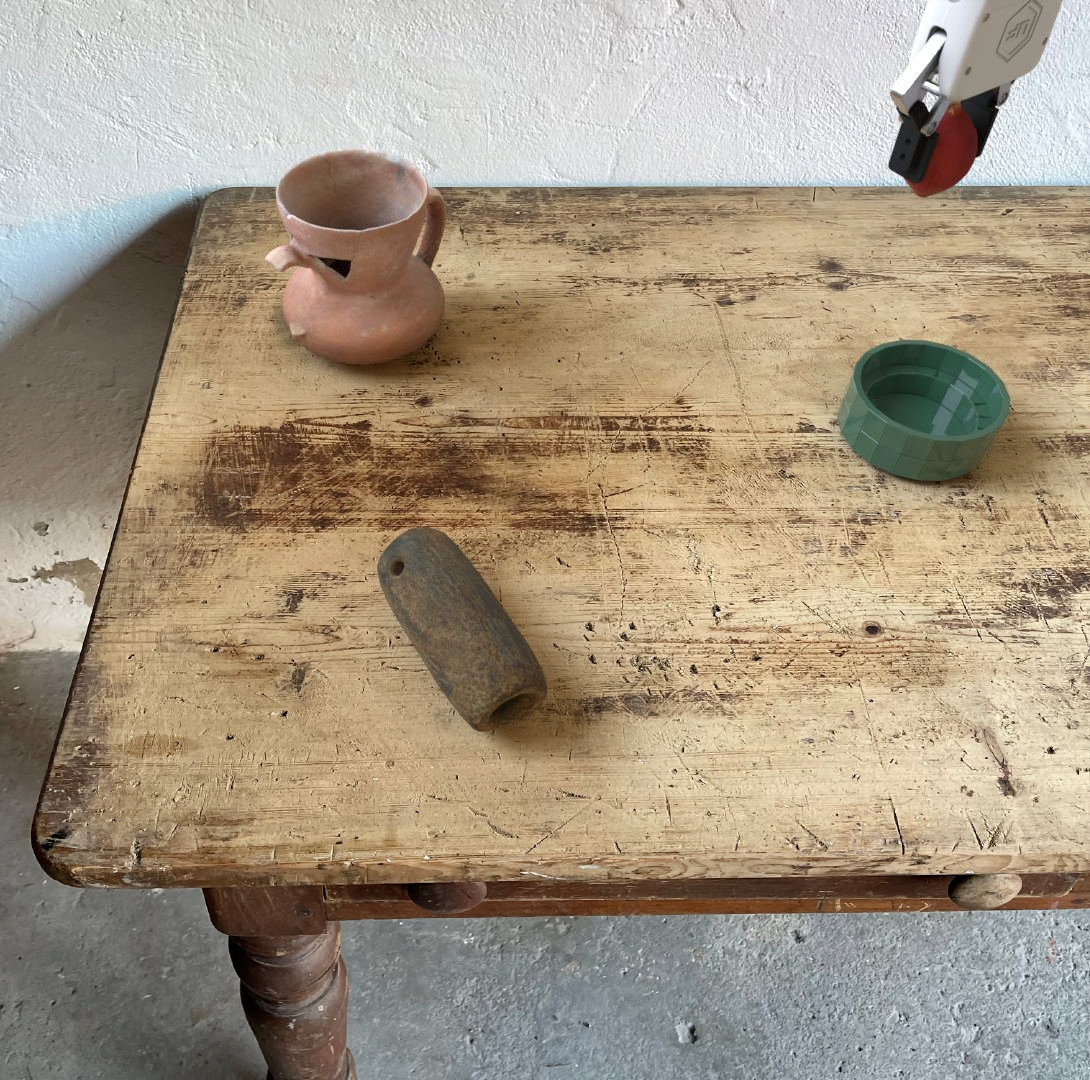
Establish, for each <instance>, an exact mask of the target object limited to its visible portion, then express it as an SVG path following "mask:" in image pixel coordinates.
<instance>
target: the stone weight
mask: <svg viewBox="0 0 1090 1080" xmlns="http://www.w3.org/2000/svg"><path fill="white" fill-rule="evenodd" d="M376 571H377V576H378V580H379V581H378V582H379V584H380V587H381V590H382V592H383V594H384V597H385V599H386V601H387V603H388V606H389V607H390V609H391V612H392V613H393V615H394V617H395V618H396V620H397V621H398V623H399V625H400V626H401V629H402V630H403V631H404V633H405V635H406V637H407V638H408V640H409V641H410V643H411V645H412V646H413V647H414V649H415V651H416V653H417V654H418V656H419V657H420V658H421V660H422V662H423V663H424V665H425V667H426V668H427V670H428V671H429V673H430V674H431V676H432V678H433V679H434V682H436V685H437V687H438V688H439V690H440V691H441V692H442V694H443V695H444V697H446V699H447V701H448V702H449V703H450V704H451V705H452V707H453V709H454V710H456V712H457V713H458V714H459V716H460V717H461V718H462V719H463V720H464V721H465V722H466V724H468V725H469V726H470V727H471V728H472V730H474V731H476V732H480V733H481V732H482V733H488V732H492V731H494V730H497V729H500V728H502V727H504V726H507V725H510V724H512V723H513V722H515V721H519V720H522V719H525V718H527V717H529V716H531V715H533V714H534V713H535V712H536V711H538V710H539V709H540V708H542V705H543V703H544V701H546V698H547V696H548V683H547V678H546V675H545V673H544V670H543V668H542V666H541V664H540V662H539V660H538V658H537V656H536V654H535V652H534V651H533V649H532V648H531V646H530V645H529V642H528V641H527V640H526V638H525V636H524V635H523V634H522V633H521V631H520V629H519V628H518V626H517V625H516V624H515V622H514V621H513V619H512V618H511V617H510V615H509V614H508V612H507V611H506V609H505V607H504V606H503V605H502V604H501V602H500V601H499V600H498V598H497V596H495V594H494V592H493V591H492V590H491V587H490V586H489V585H488V584H487V582H486V581H485V579H484V577H483V576H482V575H481V573H480V572H479V570H478V568H476V567H475V566H474V564H473V562H472V561H471V560H470V559H469V558H468V557H467V555H466V554H465V553H464V552H463V551H462V549H461V548H460V546H459V545H458V544H457V543H456V542H455V541H454V540H453V539H452V538H451V537H450V536H449V535H448V534H446V533H445V532H444V531H441V530H439V529H436V528H433V527H429V526H417V527H412V528H410V529H408V530H406V531H404V532H402V533H401V534H399V535H398V536H396V537H395V538H394V539H393V540H392V541H391V542H390V543H389V545H388V546H387V547H386V548H385V549H384V550H383V552H382V554H381V555H380V556H379V559H378V562H377V566H376Z"/></svg>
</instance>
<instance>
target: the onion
mask: <svg viewBox="0 0 1090 1080" xmlns="http://www.w3.org/2000/svg"><path fill="white" fill-rule="evenodd" d="M935 132H937V133H939V134H940V135H939V138H938V141H937V143H936V146H935V149H934V152H933V155H932V157H931V160H930V163H929V166H928V168H927V171H926V174H925V177H924V179H923V181H922V182H920V183H917V184H914V183H912V182H910V181H909V180H907V179H905V178H903V180H904V182H905V183H906V184H907V185H908V186H909V187H910V189H911V190H912V192H913V194H914V195H915V196H916V197H918V198H920V199H921V198H923V199H924V198H927V197H930V196H934V195H936V194H939V193H943V192H944V191H945V192H946V191H948V190H949V189H951V188H953V187H955V186H956V185H957V184H959V183H960V181H962V180H963V179H964V178H965V177H966V176H967V175H968V174H969V172H970V170H971V168H972V167H973V165H974V163H975V160H976V158H975V157H976V154H977V144H978V139H977V131H976V129H975V127H974V125H973V122H972V120H971V118H970V117H969V115H968V114H967V113H966V112H965V111H964V110H963V109H962V105H961V103H960V101H958V102H953V101H952V102H951V103H950V105H949V107H948V109H947V110H946V112H945V114H944V116H943V117H942V119H941V121H940V123H939V125H938V126H937V128H936V130H935Z"/></svg>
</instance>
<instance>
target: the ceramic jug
mask: <svg viewBox="0 0 1090 1080" xmlns="http://www.w3.org/2000/svg"><path fill="white" fill-rule="evenodd" d="M275 198H276V204H277V205H276V206H277V209H278V213H279V215H280V218H281V220H282V223H283V225H284V227H285V230H286V233H287V234H288V236H289V244H285V245H280V246H277V247H275V248H274V249H272V250H271V251H270V252H268V254H266V255H265V258H264V259H265V262H266V263H267V264H268V265H269V266H270V268H271V269H272V270H274V271H276V272H280V273H285V272H286V271H287V270H288V269H290V268H293V267H297V269H295V271H294V272H293V273H292V274H291V276H290V278H289V279H288V281H287V284H286V286H285V288H284V291H283V295H282V300H281V301H282V302H281V304H282V307H281V308H282V314H283V317H284V320H285V323H286V326H287V327H288V329H289V330H290V334H291V337H292V339H293V341H294V342H295V343H297V344H298V345H299V346H301V347H303V348H304V349H305V350H307V351H308V352H311V353H312V354H314V355H316V356H318V357H321V358H323V359H326V360H328V361H332V362H335V363H336V362H337V363H341V364H347V365H348V364H349V365H375V364H382V363H385V362H390V361H393V360H396V359H399V358H401V357H404V356H407V355H408V354H411V353H412V352H414V351H416V350H417V349H419V348H420V347H422V346H423V345H424V344H426V342H427V341H429V340H430V338H431V337H432V336H433V335H434V334H435V333H436V331H437V330H438V328H439V326H440V324H441V322H442V320H443V317H444V313H445V309H446V298H445V297H446V296H445V292H444V291H445V290H444V289H443V286H442V284H441V281H440V279H439V277H438V276H437V275H436V272H434V270H433V269H432V267H433V266H432V265H433V264H434V261H435V258H436V257H437V254H438V252H439V250H440V246H441V242H442V240H443V237H444V232H445V230H446V229H445V228H446V222H447V206H446V202H445V199H444V197H443V195H442V194H441V192H440V191H439V190H438V189H437V188H435V187H432V186H429V183H428V180H427V178H426V176H425V174H424V173H423V172H422V171H420V169H419V167H418V166H417V165H416V164H414V163H413V162H412V161H410V160H409V159H407V158H405V157H403V156H400V155H397V154H393V153H391V152H387V151H384V150H380V149H371V148H370V149H367V148H366V149H365V148H350V149H347V148H346V149H341V150H331V151H326V152H325V151H324V152H323V153H320V154H316V155H312V156H310V157H307V158H306V159H304V160H302V161H299V162H297V163H295V164H294V165H293V166H292V167H291V168H290V169H288V170H287V171H286V172H285V173H284V174H282V176H281V178H280V179H279V181H278V183H277V185H276V190H275ZM423 227H424V228H423ZM422 230H423V234H422V235H421V232H422ZM420 235H421V241H420V244H419V248H418V250H417V252H416V255H414V254H413V253H414V251H415V248H416V246H417V243H418V240H419V237H420Z"/></svg>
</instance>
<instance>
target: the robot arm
mask: <svg viewBox="0 0 1090 1080" xmlns="http://www.w3.org/2000/svg"><path fill="white" fill-rule="evenodd" d="M1063 1H1064V0H928V1H927V3H926V6H925V9H924V12H923V15H922V17H921V20H920V23H919V25H918V29H917V32H916V34H915V38H914V41H913V45H912V47H911V51H910V56H909V60H908V64H907V67H906V68H905V70H904V71H903V72H902V74H901V75H900V76H899V77H898V78H897V80H896V81H895V82H894V84H893V85H892V86H891V88H890V90H889V96H890V99H891V100H892V102H893V103H894V105H895V109H896V111H897V113H898V121H899V122H900V126H899V130H898V132H897V136H896V139H895V142H894V145H893V148H892V151H891V154H890V157H889V160H888V163H887V166H888V167H887V168H888V169H889V170H890V171H891V172H893V173H895V174H896V175H898V176H900V177H901V178H903V179H904V178H905V179H907V180H909V181H910V182H912V183H914V184H917V183H920V182H922V181H923V179H924V177H925V174H926V171H927V168H928V166H929V163H930V160H931V157H932V155H933V152H934V149H935V146H936V143H937V141H938V138H939V135H940V134H939V133H937V132H935V130H936V128H937V126H938V125H939V123H940V121H941V119H942V117H943V116H944V114H945V112H946V110H947V109H948V107H949V105H950V103H951V102H952V101H953V102H958V101H960V103H961V105H962V109H963V110H964V111H965V112H966V113H967V114H968V115H969V117H970V118H971V120H972V122H973V125H974V127H975V129H976V131H977V139H978V144H977V154H976V157H975V159H977V158H979V157H981V156H982V154H983V151H984V149H985V147H986V144H987V142H988V139H989V136H990V134H991V132H992V129H993V127H994V125H995V122H996V119H997V116H998V114H999V111H1000V108H1001V107H1002V106H1003V105H1004V104H1005V103H1006V102H1007V101H1008V99H1009V97H1010V92H1011V87H1012V86H1013V84H1014V83H1015V81H1016V80H1018V79H1020V78H1022V77H1024V76H1026V75H1027V74H1029V73H1030V72H1032V71H1033V70H1034V69H1035V68H1036V67H1037V66H1038V64H1039V63H1040V61H1041V59H1042V56H1043V54H1044V52H1045V50H1046V47H1047V44H1048V42H1049V39H1050V36H1051V34H1052V32H1053V30H1054V27H1055V23H1056V20H1057V18H1058V15H1059V12H1060V10H1061V6H1062V3H1063ZM935 75H938V80H937V81H938V83H937V82H936V81H933V79H934V77H935ZM928 93H930V94H932V95H933V96H936V99H935V101H934V104H933V105H932V107H931V108H930V110H929V109H928V107H927V104H926V103H925V102H924V99H925V97H926V95H927V94H928Z"/></svg>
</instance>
